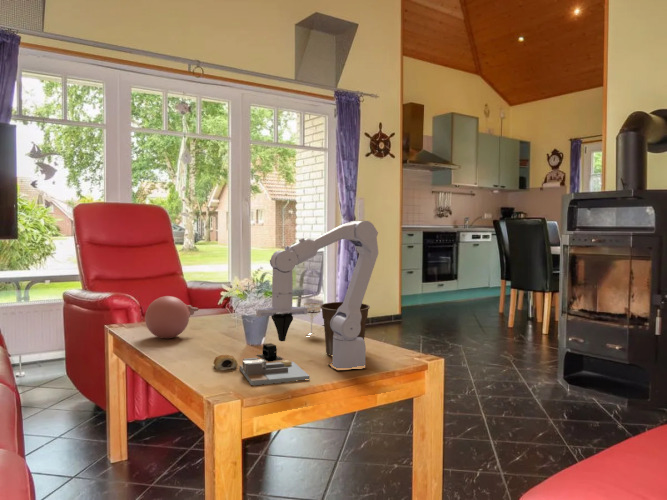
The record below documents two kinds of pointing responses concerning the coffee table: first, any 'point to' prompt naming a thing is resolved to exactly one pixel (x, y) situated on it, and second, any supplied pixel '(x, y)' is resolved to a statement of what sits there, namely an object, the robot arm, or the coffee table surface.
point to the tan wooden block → (253, 362)
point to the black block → (269, 353)
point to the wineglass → (312, 311)
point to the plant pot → (327, 314)
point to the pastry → (225, 362)
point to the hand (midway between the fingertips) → (281, 340)
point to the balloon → (168, 316)
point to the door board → (273, 372)
